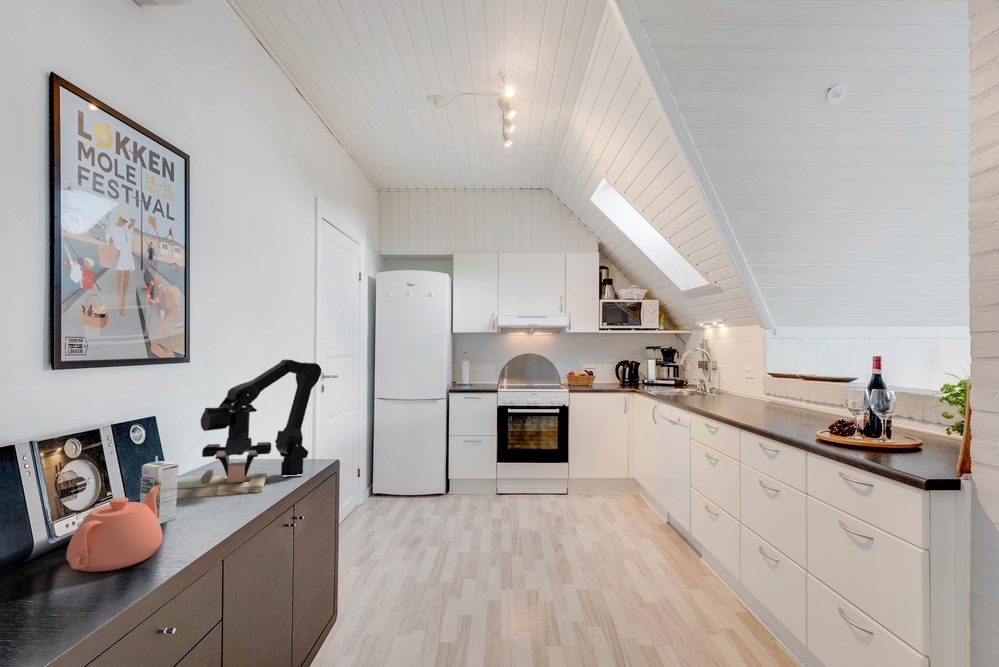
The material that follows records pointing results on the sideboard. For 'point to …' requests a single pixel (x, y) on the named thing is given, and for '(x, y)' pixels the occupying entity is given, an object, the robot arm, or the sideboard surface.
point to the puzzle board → (225, 486)
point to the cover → (195, 480)
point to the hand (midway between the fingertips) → (236, 476)
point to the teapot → (116, 535)
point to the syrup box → (161, 487)
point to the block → (236, 472)
